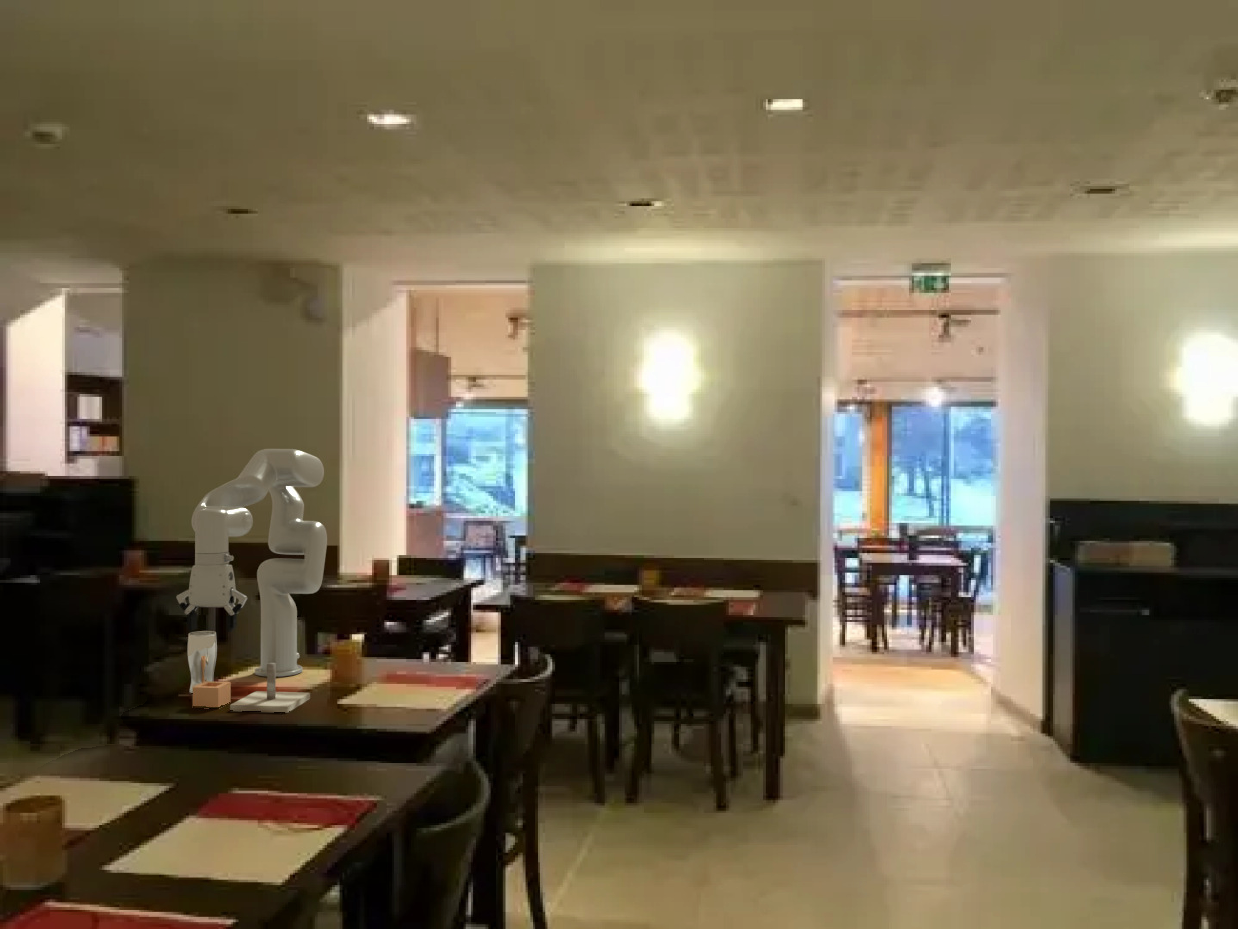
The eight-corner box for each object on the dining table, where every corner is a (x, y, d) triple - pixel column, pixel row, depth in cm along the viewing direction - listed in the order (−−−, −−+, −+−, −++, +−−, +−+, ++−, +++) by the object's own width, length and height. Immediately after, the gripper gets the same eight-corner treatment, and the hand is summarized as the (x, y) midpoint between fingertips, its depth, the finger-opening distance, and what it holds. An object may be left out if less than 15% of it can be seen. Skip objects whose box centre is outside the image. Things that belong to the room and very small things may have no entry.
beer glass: (221, 689, 271) (221, 631, 271) (208, 695, 264) (208, 636, 264) (196, 688, 272) (196, 630, 272) (182, 694, 265) (182, 635, 265)
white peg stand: (255, 697, 263) (255, 657, 263) (310, 698, 262) (310, 658, 261) (230, 711, 249) (230, 669, 249) (287, 713, 248) (287, 670, 247)
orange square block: (205, 701, 258) (205, 681, 258) (230, 702, 257) (230, 682, 257) (192, 708, 252) (192, 687, 252) (218, 708, 251) (218, 688, 251)
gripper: (253, 558, 257) (253, 628, 257) (185, 557, 258) (185, 627, 259) (239, 562, 249) (239, 634, 250) (169, 560, 251) (169, 632, 251)
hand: (211, 630), depth 254 cm, fingers open, 9 cm apart
